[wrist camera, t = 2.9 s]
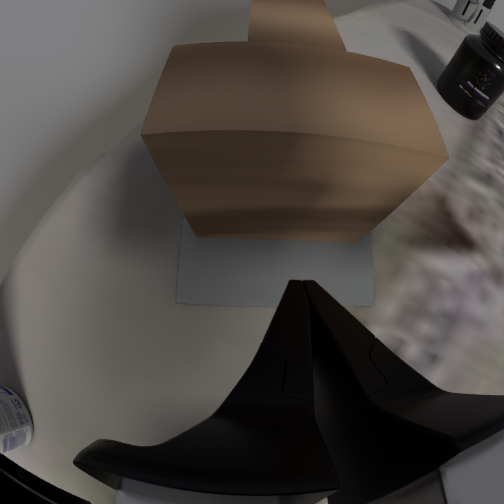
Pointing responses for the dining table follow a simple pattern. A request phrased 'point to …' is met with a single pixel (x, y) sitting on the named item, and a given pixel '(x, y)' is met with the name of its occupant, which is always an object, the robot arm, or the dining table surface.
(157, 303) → the dining table surface
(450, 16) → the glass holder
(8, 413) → the energy drink
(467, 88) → the supplement bottle
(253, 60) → the t block
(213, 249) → the mat
